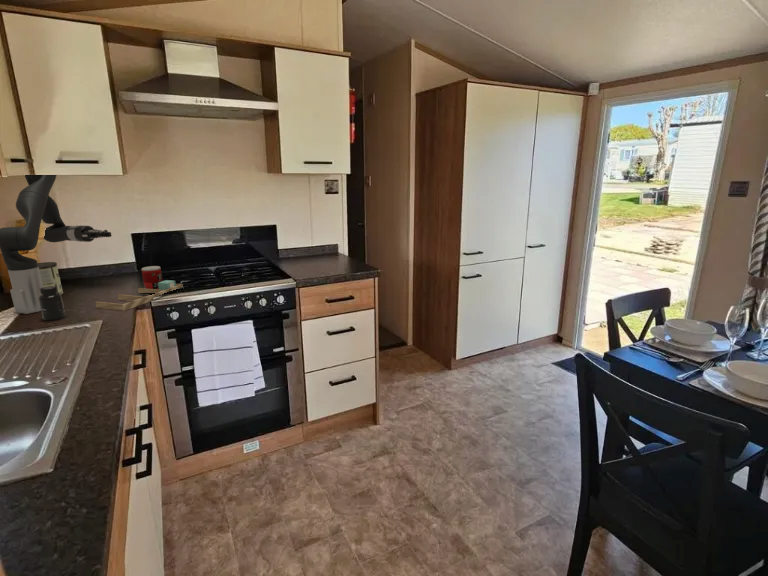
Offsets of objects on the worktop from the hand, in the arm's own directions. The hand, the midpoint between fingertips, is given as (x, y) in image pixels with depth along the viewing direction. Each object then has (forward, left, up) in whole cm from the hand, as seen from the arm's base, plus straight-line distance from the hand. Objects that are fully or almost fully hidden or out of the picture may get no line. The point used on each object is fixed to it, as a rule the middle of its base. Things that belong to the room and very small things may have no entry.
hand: (109, 234), depth 192 cm
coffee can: (-18, +21, -26) cm, 38 cm away
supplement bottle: (-41, -13, -26) cm, 50 cm away
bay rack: (-11, -24, -26) cm, 37 cm away
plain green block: (0, -28, -26) cm, 38 cm away
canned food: (0, -20, -26) cm, 33 cm away
